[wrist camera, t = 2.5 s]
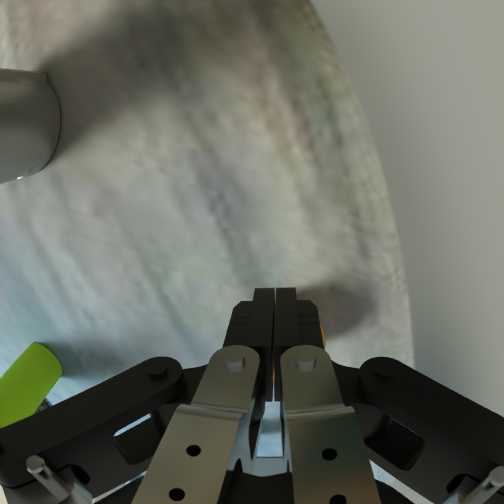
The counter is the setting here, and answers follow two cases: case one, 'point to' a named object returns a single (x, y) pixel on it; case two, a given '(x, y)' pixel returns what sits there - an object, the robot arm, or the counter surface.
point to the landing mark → (268, 466)
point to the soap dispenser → (27, 383)
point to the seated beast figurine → (107, 493)
